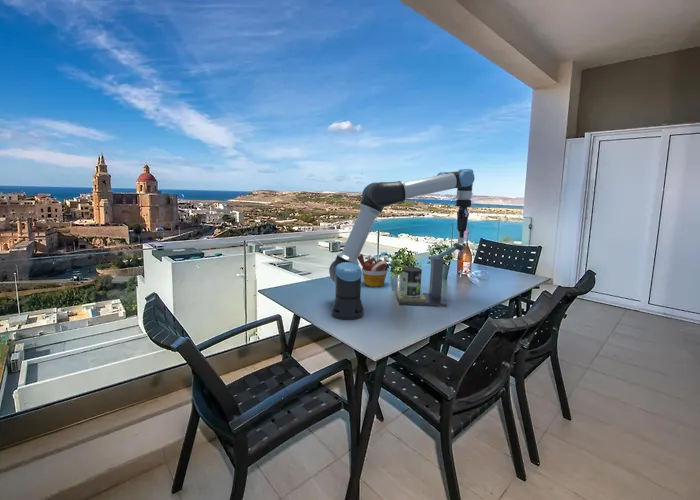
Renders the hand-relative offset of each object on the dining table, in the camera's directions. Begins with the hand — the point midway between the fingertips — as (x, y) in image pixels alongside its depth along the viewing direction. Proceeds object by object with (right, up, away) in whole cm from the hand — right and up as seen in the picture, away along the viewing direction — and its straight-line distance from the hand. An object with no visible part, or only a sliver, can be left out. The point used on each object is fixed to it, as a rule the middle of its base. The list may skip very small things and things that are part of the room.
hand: (460, 243), depth 173 cm
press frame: (-22, -31, 0) cm, 38 cm away
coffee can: (-27, -28, 0) cm, 39 cm away
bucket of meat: (-45, -26, +28) cm, 59 cm away
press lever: (-7, -7, +1) cm, 10 cm away
